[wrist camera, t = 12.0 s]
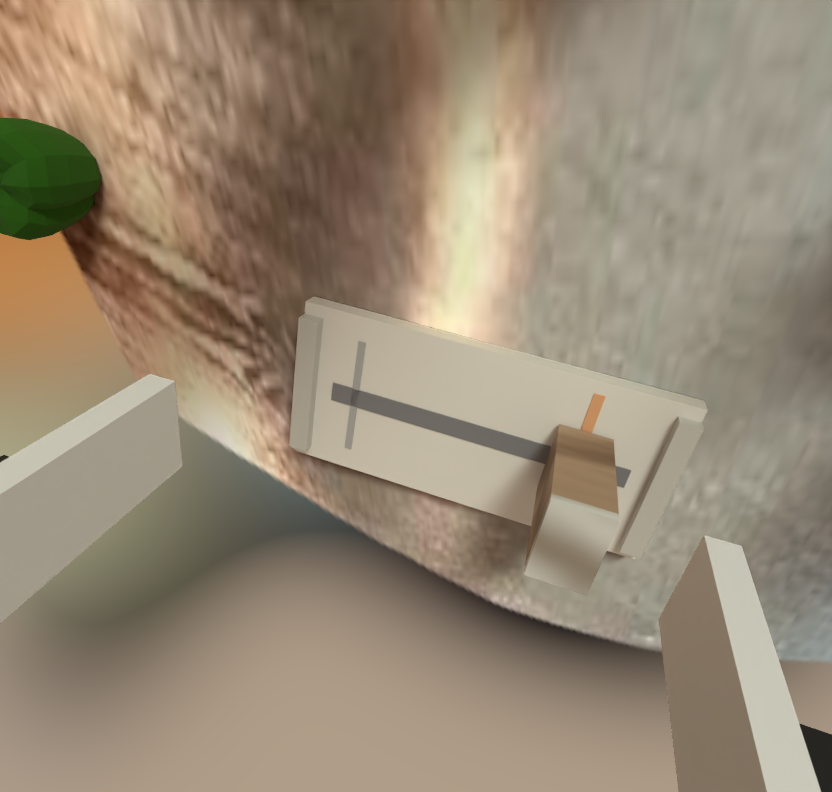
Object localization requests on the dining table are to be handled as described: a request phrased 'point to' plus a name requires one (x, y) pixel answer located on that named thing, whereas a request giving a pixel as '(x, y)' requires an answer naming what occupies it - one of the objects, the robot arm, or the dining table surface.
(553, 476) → the fader knob
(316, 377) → the slider console
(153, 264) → the dining table surface
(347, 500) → the dining table surface
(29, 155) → the bell pepper
